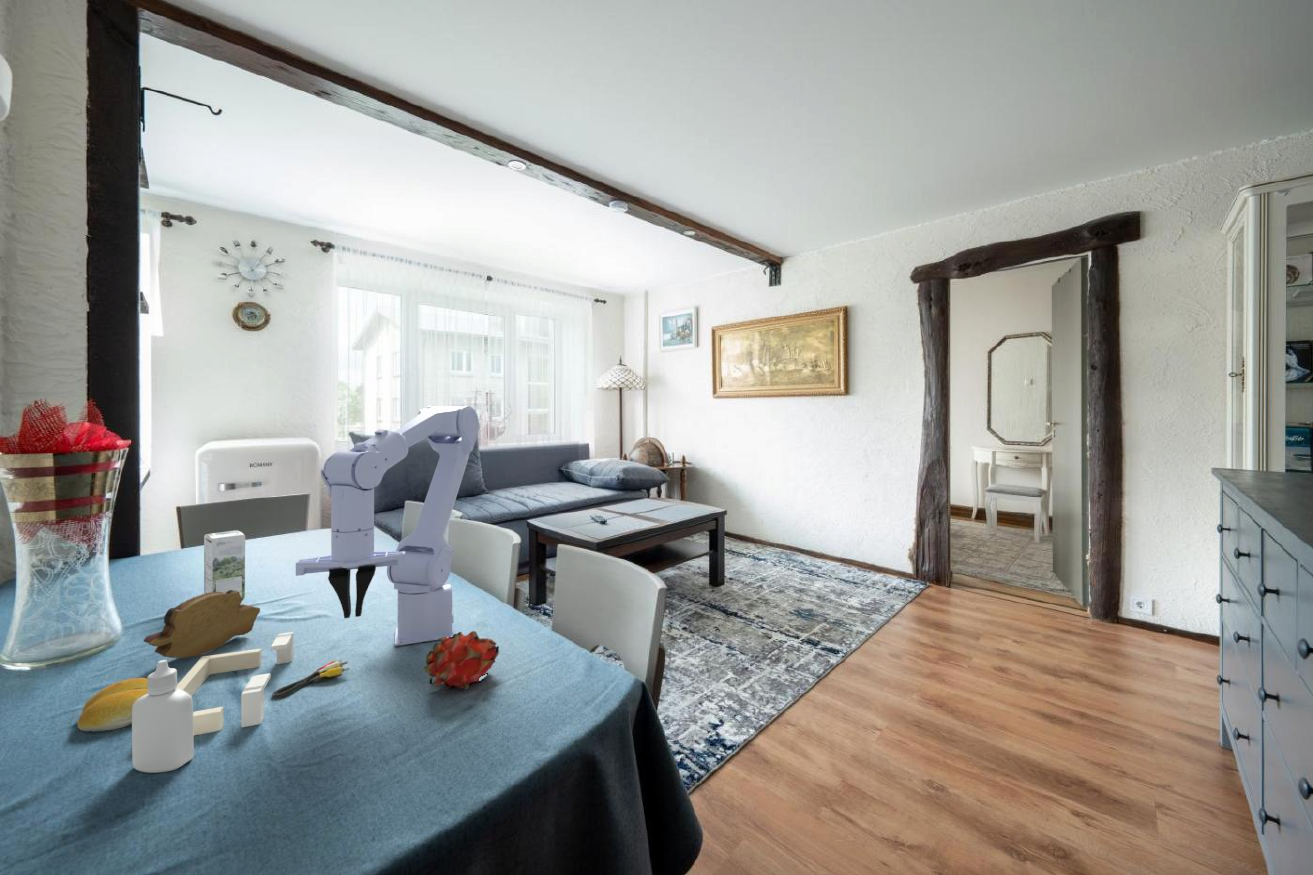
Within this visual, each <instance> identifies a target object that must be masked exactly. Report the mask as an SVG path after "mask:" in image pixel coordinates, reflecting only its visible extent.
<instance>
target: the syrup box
mask: <svg viewBox="0 0 1313 875" xmlns="http://www.w3.org/2000/svg"><path fill="white" fill-rule="evenodd" d="M203 538H204V540H203V543H204V544H203V548H204V549H203V551H204V553H203V556H204V557H203V558H204V559H203V563H204V564H203V565H204V569H203V570H204V572H203V574H204V577H203V578H204V580H203V584H204V585H203V586H204V588H203V589H204V591H203V592H204V593H203V594H205V593H209V592H222V593H226V592H227V591H229V590H233V591H238V592H239V593H240V596H241V598H242V600H243V599H245V598H246V580H245V579H246V535H245V534H244V533H243V532H242V531H239V530H229V531H223V532H213V533H207V534H206V533H205V534H204V536H203Z"/></svg>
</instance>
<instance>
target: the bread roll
mask: <svg viewBox="0 0 1313 875" xmlns="http://www.w3.org/2000/svg"><path fill="white" fill-rule="evenodd" d="M146 694H148V677H147V678H146V677H135V678H134V677H133V678H130V679H123V680H120V681H117V682H115V683H111V684H110V685H108V686H106V687H104V688H102V689H101V690H100V691H98V692H96V694H94V695H93V696H91V697H90V698H89V699H88V700H87V701H86V703H85V704H84V706H83V708H82V712H81V715H80V716H79V718H78V720H77V727H78V729H79V730H81V731H82V732H89V731H92V732H106V730H107V731H113V730H118V729H122V728H125V727H128V726H132V707H133V704H134V702H135V701H136V700H137V699H139V698H140V697H142V696H144V695H146Z"/></svg>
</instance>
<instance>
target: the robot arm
mask: <svg viewBox="0 0 1313 875" xmlns="http://www.w3.org/2000/svg"><path fill="white" fill-rule="evenodd" d="M480 428H481V426H480V421H479V416H478V414H477V411H476V410H475V408H474V407H472V406H470V405H465V406H442V405H441V406H439V405H437V406H435V405H428V406H425V407H424V408H421V409H419V410H418V413H417V415H416V416H415V417H413V418H411V420H409V421H407V423H405V424H404V425H402V426H401V427H399V428H398V429H396V430H392V429H387V428H383V429H382V428H381V429H377V430H375V431H374V435H373V436H371V437H369V438H368V439H366V440H365V441H363V442H357V443H355V444H354V445H353V447H352V448H351V449H349V450H348V451H346V450H345V451H344V450H341V451H340V450H339V451H336V452H334V453H332V454H331V455H330V456H329V457H328V458H327V459H326V461H325V462H324V465H323V469H321V470H320V475H321V476H320V477H321V480H322V482H323V483H324V485H325V486H326V488H327V496H328V497H329V499H330V501H331V502H330V509H331V510H330V512H331V514H330V516H331V518H330V519H331V520H330V522H331V523H330V524H331V527H330V528H331V529H330V530H331V531H330V533H331V534H330V535H331V537H330V538H331V540H330V542H331V543H330V544H331V548H330V549H331V553H330V555H326V556H319V557H312V558H304V559H303V558H302V559H297V561H296V562H295V576H297V577H298V576H305V575H306V574H314V573H315V574H317V573H326V572H327V573H328V576H327V580H328V582H329V584H330V585H331V586H332V589H333V590H334V591H335V594H336V595H337V597H338V598H337V599H338V600H339V602H340V603H339V604H340V605H341V609H342V612H343V613H342V614H343V619H349V618H350V617H351V613H352V602H351V601H352V600H351V590H350V589H351V587H350V586H351V570H357V571H356V573H355V585H356V586H355V587H356V588H355V592H356V593H355V594H356V595H355V596H356V600H355V610H354V611H355V618H357V617H361V616H362V613H363V604H364V599H365V598H366V594H367V591H368V589H369V587H370V585H371V582H372V580H373V578H374V576H375V574H376V569H377V568H380V567H381V568H382V567H387V568H386V575H387V578H388V580H389V582H390V583H392V584H393V589H394V590H397V626H396V628H395V633H394V645H393V646H395V647H398V646H399V647H400V646H405V645H412V644H419V643H423V642H424V643H426V642H430V641H431V642H432V641H439V640H438V639H440V638H442V637H451V636H452V637H453V624H454V613H453V586H452V584H450V583H449V584H447V583H446V582H447V581H448V579H449V578H450V575H451V571H452V558H453V553H454V550H453V548H452V546H451V545H450V544H449V543H448V541H447V540H446V539H445V535H446V532H447V528H448V525H449V522H450V519H451V517H452V513H453V509H454V507H455V504H456V500H457V497H458V496H457V495H458V494H459V489H460V486H461V483H462V480H463V478H464V474H465V471H466V468H467V464H468V462H469V459H470V458H469V457H470V454H471V452H473V450H474V448H475V444H476V441H477V437H478V434H479V431H480ZM425 439H426V440H427V442H428V444H429V445H430V447H431V449H432V450H433V451H434V452H436V453H438V456H439V458H438V461H437V464H436V467H435V470H434V473H433V476H432V479H431V482H430V485H429V488H428V490H427V494H426V496H425V499H424V503H423V505H422V507H421V511H420V514H419V517H418V520H417V522H416V526H415V529H414V531H413V532H412V533H411V534H409V535H408V536H405V537H404V538H403V539H401V540H400V541H398V542H399V543H398V545H397V548H396V550H395V551H375V488H376V487H378V486H379V485H380V484H381V483H382V479H383V477H384V474H385V473H387V470H389V469H391V468H392V467H393V466H395V465H397V464H398V463H399V462H401V461H402V460H404V459H406V458H407V456H408V454H409V448H410V447H412V446H414V445H415V444H416V445H417V443H419V442H421V441H423V440H425Z"/></svg>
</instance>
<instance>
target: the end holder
mask: <svg viewBox="0 0 1313 875" xmlns="http://www.w3.org/2000/svg"><path fill="white" fill-rule="evenodd" d="M262 653H263V652H262V648H255V649H253V648H252V649H249V650H248V649H247V650H242V651H234V652H227V653H226V652H225V653H218V654H213V655H212V654H211V655H204V656H201V657H200V659H199V660H198V661H197V662H195V664H194V665H193V666H192V667H191V669H190V670H188V672H187V673H186V674H185V675H184V677H183V678H182V679H181V680H180V681H179V682H177V687H176V688H179V689H181V690H183V691H185V692H187V693H188V694H190V695H191V697H192V698H193V695H194V694H195V693H196V692H197V691H198V690H199V688H200V687H202V684H203V683H204V682H205V681H206V680H207V678H208V677H209V675H215V674H221V673H228V672H229V673H230V672H233V671H234V672H235V671H241V670H246V669H254V668H259V667H261V665H262ZM223 727H224V706H218V707H213V708H206V709H202V710H196V711H193V737H195V736H198V735H200V736H201V735H204V734H209V733H215V732H220V731H221V730H222V729H223Z"/></svg>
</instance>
